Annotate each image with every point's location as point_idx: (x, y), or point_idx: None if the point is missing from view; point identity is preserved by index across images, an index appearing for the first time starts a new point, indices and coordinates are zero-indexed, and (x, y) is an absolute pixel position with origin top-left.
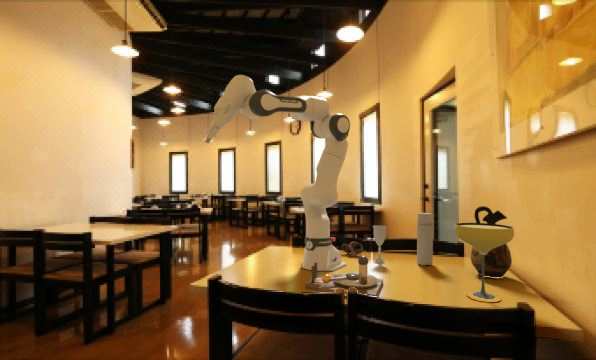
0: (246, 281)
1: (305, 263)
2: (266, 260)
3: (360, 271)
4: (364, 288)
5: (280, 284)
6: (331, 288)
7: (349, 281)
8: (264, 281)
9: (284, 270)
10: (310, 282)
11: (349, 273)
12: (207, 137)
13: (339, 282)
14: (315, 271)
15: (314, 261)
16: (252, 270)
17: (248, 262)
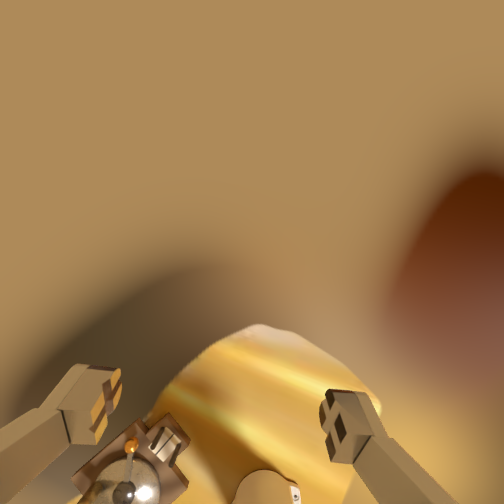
0: (239, 347)
1: (264, 480)
2: None
3: (82, 499)
4: None
5: (201, 387)
6: (123, 437)
7: (113, 474)
8: (226, 372)
9: (271, 431)
10: (163, 425)
11: (132, 497)
12: (375, 445)
13: (124, 459)
14: (173, 452)
15: (246, 495)
16: (295, 380)
17: None
